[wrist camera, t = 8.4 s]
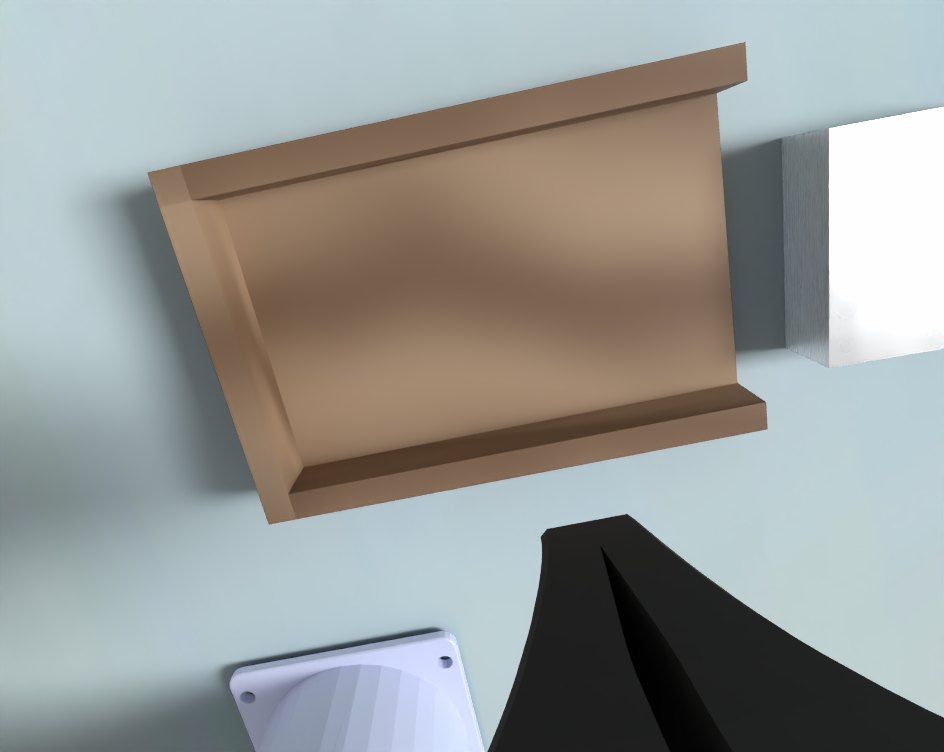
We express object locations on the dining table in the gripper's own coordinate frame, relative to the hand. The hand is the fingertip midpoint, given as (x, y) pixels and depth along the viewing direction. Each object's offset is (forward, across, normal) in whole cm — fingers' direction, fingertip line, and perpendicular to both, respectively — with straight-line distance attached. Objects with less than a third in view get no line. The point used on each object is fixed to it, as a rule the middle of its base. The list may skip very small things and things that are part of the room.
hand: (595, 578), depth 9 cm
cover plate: (+10, -10, -2) cm, 15 cm away
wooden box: (+9, +1, -3) cm, 10 cm away
